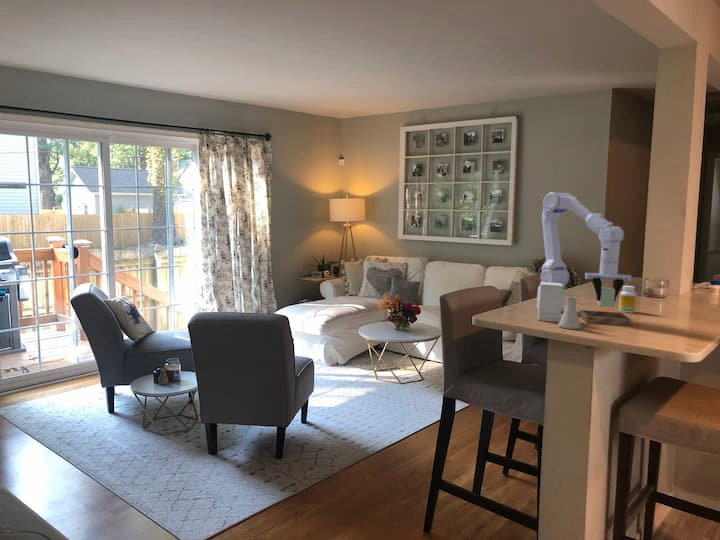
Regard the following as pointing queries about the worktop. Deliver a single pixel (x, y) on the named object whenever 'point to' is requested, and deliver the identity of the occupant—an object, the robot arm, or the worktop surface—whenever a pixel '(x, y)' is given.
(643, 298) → the worktop surface
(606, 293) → the sage block
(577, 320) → the flask
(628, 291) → the supplement bottle
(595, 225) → the robot arm
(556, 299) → the supplement box
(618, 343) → the worktop surface
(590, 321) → the tray
